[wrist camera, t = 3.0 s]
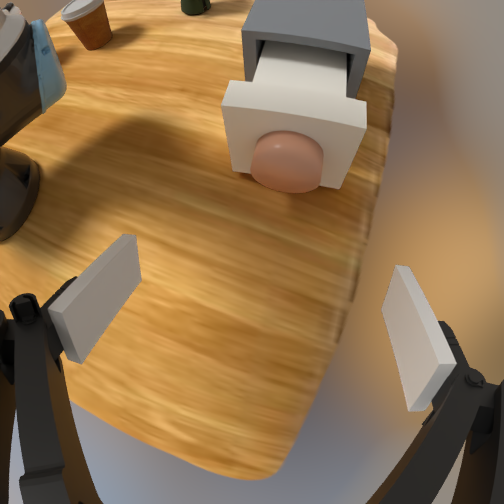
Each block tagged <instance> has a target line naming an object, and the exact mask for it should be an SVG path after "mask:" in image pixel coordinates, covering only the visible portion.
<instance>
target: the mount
mask: <svg viewBox="0 0 504 504" xmlns="http://www.w3.org/2000/svg"><path fill="white" fill-rule="evenodd" d="M241 33H242V45H243V58H244V71H245V81H246V82H253V79H254V75H255V72H256V69H257V66H258V63H259V59H260V56H261V53H262V50H263V47H264V44H265V41H266V40H269V41H279V42H287V43H294V44H301V45H308V46H314V47H320V48H325V49H331V50H336V51H341V52H345V53H347V75H346V97H348V98H352V99H355V98H356V95H357V92H358V89H359V86H360V83H361V80H362V77H363V74H364V71H365V67H366V64H367V61H368V58H369V55H370V51H371V47H370V38H369V30H368V23H367V17H366V10H365V3H364V0H255V2H254V4H253V6H252V8H251V10H250V12H249V15H248V17H247V19H246V21H245V23H244V25H243V28H242V30H241Z"/></svg>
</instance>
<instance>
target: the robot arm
mask: <svg viewBox="0 0 504 504" xmlns="http://www.w3.org/2000/svg"><path fill="white" fill-rule="evenodd" d="M66 87H67V84H66V80H65V76H64V73H63V70H62V67H61V64H60V61H59V59H58V56H57V53H56V50H55V48H54V45H53V42H52V40H51V37H50V35H49V32H48V30H47V27H46V25H45V24H44V22H43V20H42V19H39V20H37V21H32V22H31V24H30V25H29V24H28V23H27V21H26V20H25V18H24V17H23V16H22V15H21V14H13V15H5V14H4V12H3V11H2V9H1V8H0V241H3V240H5V239H7V238H9V237H10V236H12V235H13V234H14V233H15V232H16V231H17V230H18V229H19V228H20V227H21V225H22V224H23V223H24V221H25V220H26V218H27V217H28V215H29V213H30V211H31V209H32V207H33V205H34V203H35V200H36V197H37V193H38V189H39V182H40V175H39V169H38V167H37V165H36V163H35V162H34V161H33V160H32V159H31V158H30V157H28V156H27V155H26V154H24V153H21V152H18V151H15V150H12V149H9V148H5V147H2V146H3V145H4V144H5V143H6V142H7V141H8V140H9V139H11V138H12V137H13V136H14V135H15V134H17V133H18V132H19V131H20V130H22V129H23V128H24V127H25V126H27V125H28V124H29V123H30V122H32V121H33V120H34V119H36V118H37V117H38V116H39V115H41V114H44V113H45V112H46V110H47V109H48V108H49V107H50V106H52V105H53V104H54V103H56V102H57V101H58V100H59V99H61V98H62V97H63V95H64V93H65V91H66ZM141 280H142V279H141V272H140V265H139V257H138V249H137V240H136V235H129V234H123V235H122V236H121V237H119V238H118V239H117V240H116V241H115V242H114V243H113V244H112V245H111V246H110V247H109V248H108V249H106V250H105V251H104V252H103V253H102V254H101V255H100V256H99V257H98V258H97V259H96V260H95V261H94V262H93V263H92V264H91V265H90V266H89V267H88V268H87V269H86V270H85V271H84V272H83V273H82V274H81V275H80V276H79V277H76V276H75V277H73V278H72V279H70V280H68V281H66V282H65V283H64V284H63V285H62V286H61V287H60V289H58V290H57V291H56V292H55V294H53V295H52V297H51V298H50V299H49V300H48V301H47V302H46V303H45V304H44V305H43V306H42V307H41V308H40V307H39V304H38V302H37V299H36V296H35V295H33V294H30V293H26V294H21V295H19V296H17V297H15V298H14V299H13V300H12V301H11V302H10V304H9V308H10V311H11V313H12V315H13V318H14V319H6V317H5V314H4V312H3V311H2V310H0V504H8V501H9V467H10V452H11V441H12V433H13V425H14V417H15V411H16V410H17V422H18V430H19V438H20V445H21V452H22V457H23V463H24V469H25V474H24V475H23V476H21V477H20V479H19V485H20V491H21V495H22V499H23V503H24V504H103V503H102V501H101V500H100V498H99V497H98V494H97V491H96V489H95V486H94V483H93V481H92V478H91V475H90V472H89V469H88V466H87V464H86V460H85V457H84V454H83V451H82V447H81V444H80V441H79V437H78V434H77V430H76V427H75V422H74V418H73V414H72V410H71V406H70V401H69V397H68V392H67V387H66V382H65V376H64V371H63V365H62V360H61V358H60V356H59V355H60V354H61V353H62V351H63V350H64V352H65V354H66V356H67V358H68V360H71V361H74V362H76V363H79V364H82V363H83V362H84V360H85V359H86V357H87V356H88V354H89V353H90V351H91V350H92V348H93V347H94V346H95V344H96V343H97V341H98V340H99V338H100V337H101V335H102V334H103V333H104V331H105V330H106V328H107V327H108V325H109V324H110V323H111V321H112V320H113V318H114V317H115V316H116V314H117V313H118V312H119V310H120V309H121V307H122V306H123V305H124V303H125V302H126V301H127V299H128V298H129V296H130V295H131V294H132V292H133V291H134V290H135V288H136V287H137V286H138V284H139V283H140V282H141ZM381 311H382V314H383V317H384V321H385V324H386V327H387V330H388V334H389V337H390V341H391V344H392V348H393V351H394V355H395V358H396V362H397V366H398V370H399V374H400V378H401V382H402V386H403V390H404V394H405V399H406V403H407V408H408V411H425V409H426V408H427V406H428V405H429V404H430V402H431V401H432V405H433V411H432V412H431V413H430V414H429V416H428V417H427V418H426V420H425V421H424V422H423V423H422V425H423V426H422V428H421V430H420V431H419V433H418V434H417V436H416V437H415V439H414V440H413V442H412V444H411V445H410V447H409V448H408V449H407V451H406V452H405V454H404V455H403V457H402V458H401V460H400V461H399V462H398V464H397V465H396V466H395V468H394V469H393V470H392V472H391V473H390V474H389V476H388V477H387V478H386V480H385V481H384V482H383V483H382V485H381V486H380V487H379V488H378V490H377V491H376V492H375V493H374V494H373V496H372V497H371V498H370V499H369V500H368V502H367V503H366V504H431V503H432V502H433V500H434V499H435V497H436V495H437V494H438V492H439V490H440V489H441V487H442V485H443V483H444V482H445V480H446V478H447V476H448V474H449V472H450V471H451V469H452V467H453V465H454V463H455V461H456V459H457V457H458V455H459V453H460V451H461V449H462V446H463V444H464V442H465V440H466V444H465V449H464V454H463V459H462V464H461V468H460V473H459V477H458V481H457V485H456V489H455V492H454V496H453V499H452V503H451V504H504V380H503V381H502V382H501V384H500V385H494V384H490V383H486V381H485V378H484V376H483V375H482V374H481V373H480V372H478V371H477V370H476V369H473V368H470V367H469V365H468V363H467V360H466V358H465V356H464V354H463V352H462V350H461V348H460V346H459V343H458V341H457V339H455V338H456V337H455V335H454V333H453V331H452V329H451V328H450V327H449V326H448V325H447V324H446V323H445V322H444V321H437V319H436V317H435V315H434V313H433V311H432V309H431V307H430V305H429V303H428V301H427V299H426V297H425V295H424V293H423V291H422V289H421V287H420V286H419V284H418V282H417V280H416V278H415V276H414V275H413V273H412V271H411V269H410V267H409V266H401V265H395V268H394V272H393V275H392V278H391V281H390V285H389V287H388V290H387V294H386V297H385V299H384V302H383V305H382V308H381Z"/></svg>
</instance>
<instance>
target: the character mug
mask: <svg viewBox="0 0 504 504" xmlns="http://www.w3.org/2000/svg"><path fill="white" fill-rule="evenodd" d="M205 6H207V10H208V9H209V8H210V7H211V4H210V0H181V10H182V11H183V12H184V13H187V14H198V13H202V12H204V7H205Z"/></svg>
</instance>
